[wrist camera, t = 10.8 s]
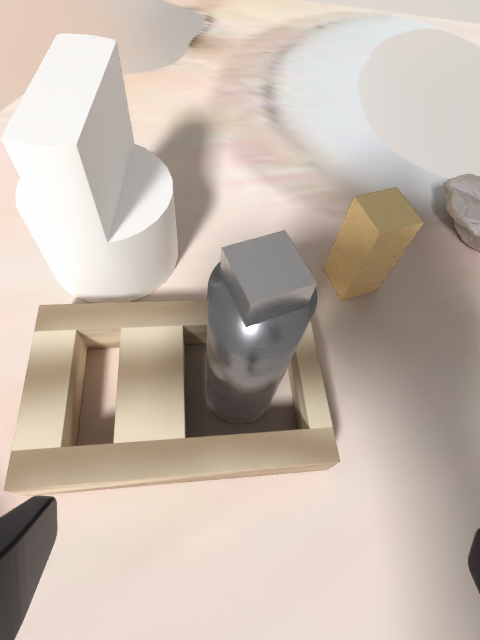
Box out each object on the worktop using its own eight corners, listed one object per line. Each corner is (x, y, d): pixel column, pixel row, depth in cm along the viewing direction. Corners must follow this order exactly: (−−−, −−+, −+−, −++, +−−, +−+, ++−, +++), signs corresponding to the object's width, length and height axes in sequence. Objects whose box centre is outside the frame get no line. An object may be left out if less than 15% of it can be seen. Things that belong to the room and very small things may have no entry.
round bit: (282, 409, 23) (350, 295, 12) (221, 434, 22) (236, 334, 11) (255, 352, 25) (294, 209, 14) (196, 373, 24) (190, 236, 13)
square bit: (377, 290, 28) (423, 222, 22) (341, 300, 28) (380, 233, 22) (357, 259, 30) (396, 187, 24) (322, 268, 29) (354, 196, 23)
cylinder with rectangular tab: (69, 202, 30) (-2, 24, 20) (184, 212, 31) (175, 44, 20) (34, 299, 26) (-80, 134, 15) (170, 309, 26) (149, 156, 16)
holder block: (326, 469, 22) (339, 461, 20) (25, 496, 20) (3, 490, 18) (297, 316, 27) (305, 296, 24) (53, 325, 25) (39, 305, 23)
